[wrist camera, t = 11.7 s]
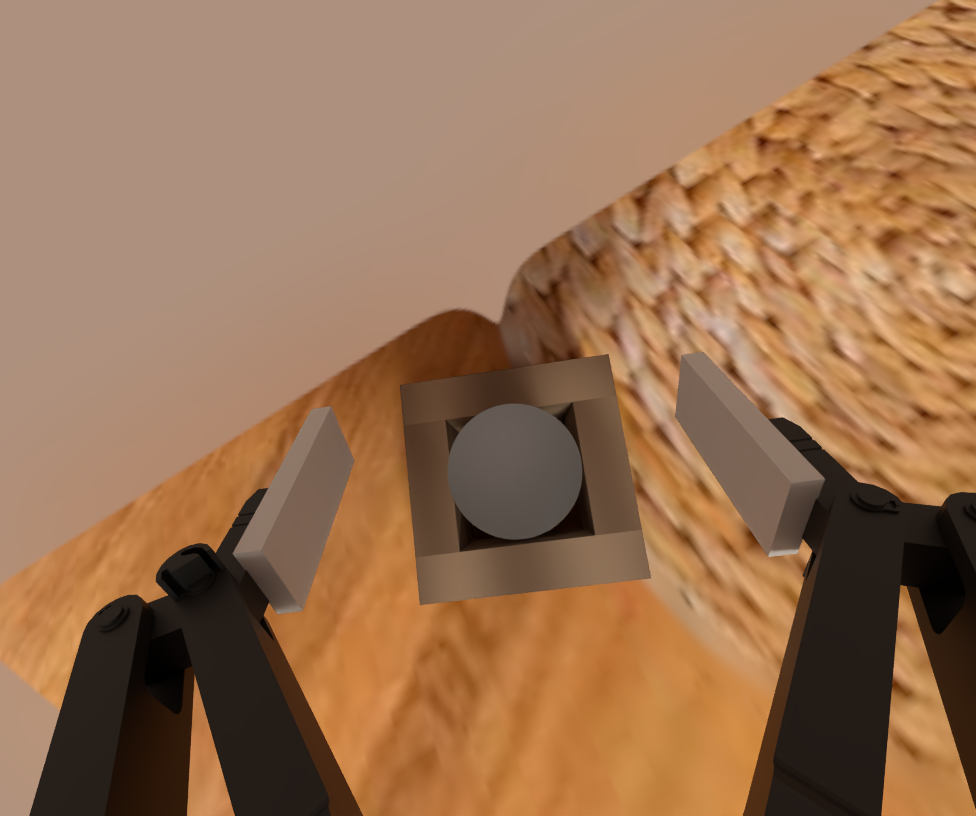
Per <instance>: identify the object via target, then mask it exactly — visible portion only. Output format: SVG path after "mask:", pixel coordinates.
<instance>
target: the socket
mask: <svg viewBox="0 0 976 816" xmlns="http://www.w3.org/2000/svg"><path fill="white" fill-rule="evenodd" d="M400 391H401V402H402V413H403V424H404V435H405V446H406V457H407V468H408V479H409V490H410V501H411V512H412V524H413V535H414V546H415V557H416V568H417V579H418V590H419V601H420V605H424V604H433V603H442V602H450V601H459V600H467V599H476V598H485V597H493V596H502V595H511V594H519V593H528V592H537V591H545V590H554V589H563V588H571V587H580V586H589V585H597V584H606V583H615V582H623V581H632V580H641V579H649V578H651V575H650V570H649V565H648V560H647V554H646V549H645V544H644V538H643V533H642V528H641V523H640V517H639V512H638V507H637V502H636V496H635V491H634V486H633V480H632V475H631V470H630V465H629V459H628V454H627V449H626V444H625V438H624V433H623V428H622V422H621V417H620V412H619V407H618V401H617V396H616V391H615V386H614V380H613V375H612V370H611V365H610V359H609V354H606V355H600V356H593V357H586V358H579V359H573V360H566V361H559V362H552V363H546V364H539V365H532V366H525V367H518V368H512V369H505V370H498V371H491V372H485V373H478V374H471V375H464V376H458V377H451V378H444V379H437V380H430V381H424V382H417V383H410V384H403V385H400ZM504 404H525V405H531V406H534V407H537V408H540V409H542V410H544V411H546V412H548V413H549V414H551V415H553V416H554V417H555V418H557V419H558V420H562V419H564V422H565V427H566V428H567V429H568V431H569V432H570V434H571V435H572V437H573V438H574V440H575V442H576V444H577V447H578V449H579V452H580V456H581V461H582V483H581V488H580V491H579V495H578V497H577V501H578V507H579V513H580V520H581V526H582V527H574V528H566V529H558V530H550V531H547V532H545V533H543V534H541V535H538V536H535V537H532V538H527V539H516V540H514V539H504V538H499V537H493V538H485V539H477V540H473V533H472V524H471V522H470V521H469V520H468V519H466V517H465V516H464V515H463V514H462V513H461V511H460V510H459V508H458V507H457V505H456V503H455V501H454V499H453V497H452V494H451V491H450V488H449V482H448V471H447V469H448V460H449V455H450V451H451V448H452V445H453V443H454V441H455V439H456V437H457V436H458V434H459V433H460V431H461V430H462V428H463V427H464V426H465V425H466V424H467V423H468V422H469V421H470V420H471V419H472V418H474V417H475V416H477V415H478V414H480V413H481V412H483V411H485V410H487V409H489V408H492V407H495V406H499V405H504Z"/></svg>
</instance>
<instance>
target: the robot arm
mask: <svg viewBox="0 0 976 816" xmlns="http://www.w3.org/2000/svg"><path fill="white" fill-rule="evenodd" d="M675 417H676V419H677V420H678V422H679V423H680V425H681V426H682V428H683V429H684V431H685V432H686V434H687V435H688V437H689V438H690V440H691V441H692V443H693V444H694V446H695V447H696V449H697V450H698V452H699V453H700V455H701V456H702V458H703V459H704V461H705V462H706V464H707V465H708V467H709V468H710V470H711V471H712V473H713V474H714V476H715V477H716V479H717V480H718V482H719V483H720V485H721V486H722V488H723V489H724V491H725V492H726V494H727V495H728V497H729V499H730V500H731V502H732V503H733V505H734V506H735V508H736V509H737V511H738V512H739V514H740V515H741V517H742V518H743V520H744V521H745V523H746V524H747V526H748V527H749V529H750V530H751V532H752V533H753V535H754V536H755V538H756V539H757V541H758V542H759V544H760V545H761V547H762V548H763V550H764V551H765V553H766V554H767V556H768V557H771V556H780V555H788V554H797V553H798V550H799V548H800V545H801V542H802V540H803V539H804V541H805V542H806V543H807V544H808V546H809V547H810V548H811V550H812V553H811V556H810V558H809V561H808V563H807V566H806V568H805V571H804V573H803V577H805V578H804V582H803V586H802V590H801V593H800V597H799V601H798V605H797V609H796V613H795V617H794V621H793V624H792V628H791V632H790V636H789V640H788V644H787V648H786V652H785V655H784V659H783V663H782V667H781V671H780V675H779V679H778V683H777V687H776V690H775V694H774V698H773V702H772V706H771V710H770V714H769V718H768V721H767V725H766V729H765V733H764V737H763V741H762V745H761V749H760V753H759V756H758V760H757V764H756V768H755V772H754V776H753V780H752V784H751V787H750V791H749V795H748V799H747V803H746V807H745V810H744V813H743V816H881V812H882V800H883V788H884V776H885V764H886V752H887V740H888V728H889V716H890V704H891V691H892V679H893V667H894V655H895V643H896V631H897V619H898V607H899V595H900V585H904V586H907V589H908V592H909V595H910V598H911V601H912V605H913V608H914V611H915V614H916V618H917V621H918V624H919V627H920V631H921V634H922V637H923V640H924V644H925V647H926V650H927V653H928V656H929V660H930V663H931V666H932V669H933V673H934V676H935V679H936V682H937V686H938V689H939V692H940V695H941V698H942V702H943V705H944V708H945V711H946V715H947V718H948V721H949V724H950V728H951V731H952V734H953V737H954V741H955V744H956V747H957V750H958V753H959V757H960V760H961V763H962V766H963V770H964V773H965V776H966V779H967V783H968V786H969V789H970V792H971V795H972V799H973V802H974V805H975V808H976V493H967V492H959V493H955V494H951V495H950V496H949V497H948V498H947V499H946V500H945V501H944V503H943V505H942V506H931V505H922V504H912V503H904V502H901V501H900V500H899V498H898V497H897V496H895V495H893V494H892V493H890V492H889V491H887V490H885V489H883V488H880V487H877V486H875V485H871V484H866V483H860V482H858V481H856V480H855V479H854V478H853V477H852V476H851V475H850V474H849V473H848V472H847V471H846V470H845V469H844V468H843V467H842V466H841V465H840V464H839V463H838V462H837V461H836V460H835V459H834V458H833V457H831V456H830V455H829V454H828V453H827V452H826V451H825V450H822V447H821V446H820V445H819V444H818V443H817V442H816V441H815V440H812V437H811V436H810V435H809V434H808V433H807V432H805V431H804V430H803V429H802V428H801V427H800V426H798V425H796V424H795V423H793V422H791V421H789V420H787V419H785V418H783V417H782V418H775V419H767V418H766V417H765V416H764V415H763V414H762V413H761V412H760V411H759V410H758V409H757V408H756V406H755V405H754V404H753V403H752V402H751V401H750V400H749V399H748V398H747V397H746V396H745V395H744V394H743V393H742V392H741V391H740V390H739V389H738V388H737V387H736V386H735V385H734V384H733V383H732V381H731V380H730V379H729V378H728V377H727V376H726V375H725V374H724V373H723V372H722V371H721V370H720V369H719V368H718V367H717V366H716V365H715V364H714V363H713V362H712V361H711V360H710V359H709V358H708V356H707V355H706V354H705V353H704V352H699V353H692V354H686V355H682V356H681V366H680V375H679V385H678V395H677V404H676V414H675ZM353 463H354V459H353V457H352V454H351V452H350V449H349V447H348V445H347V442H346V440H345V438H344V435H343V433H342V431H341V428H340V426H339V424H338V421H337V419H336V416H335V414H334V412H333V409H332V407H331V406H329V407H323V408H316V409H312V410H311V411H310V413H309V415H308V417H307V419H306V421H305V422H304V424H303V426H302V428H301V430H300V431H299V433H298V435H297V437H296V439H295V441H294V442H293V444H292V446H291V448H290V450H289V452H288V453H287V455H286V457H285V459H284V461H283V463H282V464H281V466H280V468H279V470H278V472H277V474H276V475H275V477H274V479H273V481H272V483H271V484H270V486H269V488H265V489H258V490H257V491H256V492H255V493H254V494H253V495H252V496H251V497H250V498H249V499H248V500H247V501H246V502H245V504H244V506H243V507H242V509H241V511H240V512H239V514H238V517H237V518H236V519H235V521H234V523H233V524H232V528H230V529H229V531H228V533H227V535H226V536H225V538H224V540H223V541H222V543H221V545H220V546H219V548H218V550H217V552H216V553H215V552H214V551H213V550H212V548H211V547H209V546H208V545H207V544H202V543H199V544H194V545H190V546H187V547H185V548H183V549H181V550H179V551H178V552H176V553H175V554H173V555H172V556H171V557H169V558H168V559H167V560H166V561H165V562H164V563H163V564H162V565H161V567H160V569H159V571H158V572H157V574H156V582H157V583H158V585H159V586H160V587H161V588H162V589H163V590H164V591H165V592H166V593H167V594H168V596H165V597H163V598H160V599H157V600H155V601H152V602H150V603H146V602H145V601H144V600H143V599H142V598H141V597H139V596H138V595H127V596H124V597H121V598H118V599H116V600H114V601H113V602H111V603H109V604H107V605H106V606H105V607H103V608H102V609H101V610H100V611H98V612H97V613H96V614H95V615H94V617H93V618H92V619H91V620H90V621H89V622H88V624H87V626H86V628H85V630H84V632H83V635H82V638H81V642H80V645H79V649H78V652H77V655H76V659H75V662H74V666H73V669H72V672H71V676H70V679H69V683H68V686H67V690H66V693H65V696H64V700H63V703H62V707H61V710H60V713H59V717H58V720H57V724H56V727H55V730H54V734H53V737H52V741H51V744H50V748H49V751H48V754H47V758H46V761H45V764H44V768H43V771H42V775H41V778H40V782H39V785H38V788H37V792H36V795H35V798H34V802H33V805H32V809H31V812H30V816H187V803H188V784H189V766H190V747H191V729H192V710H193V692H194V673H195V677H196V680H197V684H198V687H199V691H200V694H201V698H202V701H203V705H204V709H205V712H206V716H207V719H208V723H209V726H210V730H211V733H212V737H213V740H214V744H215V747H216V751H217V754H218V758H219V761H220V765H221V768H222V772H223V775H224V779H225V783H226V786H227V790H228V793H229V797H230V800H231V804H232V807H233V811H234V814H235V816H363V815H362V813H361V810H360V808H359V806H358V804H357V802H356V800H355V798H354V796H353V794H352V792H351V790H350V788H349V786H348V784H347V782H346V780H345V778H344V776H343V774H342V772H341V770H340V767H339V765H338V763H337V761H336V759H335V757H334V755H333V753H332V751H331V749H330V747H329V745H328V743H327V741H326V739H325V737H324V735H323V733H322V731H321V729H320V727H319V725H318V722H317V720H316V718H315V716H314V714H313V712H312V710H311V708H310V706H309V704H308V702H307V700H306V698H305V696H304V694H303V692H302V690H301V688H300V686H299V684H298V682H297V679H296V677H295V675H294V673H293V671H292V669H291V667H290V665H289V663H288V661H287V659H286V657H285V655H284V653H283V651H282V649H281V647H280V645H279V643H278V641H277V639H276V637H275V634H274V632H273V630H272V628H271V626H270V624H269V622H268V621H267V619H266V618H265V617H264V613H265V610H266V608H267V606H268V603H270V605H271V606H272V607H273V609H274V610H275V611H276V613H277V614H281V613H290V612H299V611H303V609H304V606H305V603H306V600H307V597H308V594H309V591H310V588H311V586H312V583H313V580H314V577H315V574H316V571H317V568H318V565H319V562H320V559H321V556H322V553H323V551H324V548H325V545H326V542H327V539H328V536H329V533H330V530H331V527H332V524H333V521H334V519H335V516H336V513H337V510H338V507H339V504H340V501H341V498H342V495H343V492H344V489H345V487H346V484H347V481H348V478H349V475H350V472H351V469H352V466H353Z"/></svg>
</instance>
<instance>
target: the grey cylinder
mask: <svg viewBox="0 0 976 816" xmlns="http://www.w3.org/2000/svg"><path fill="white" fill-rule="evenodd" d="M447 471H448V482H449V488H450V491H451V494H452V497H453V499H454V501H455V503H456V505H457V507H458V508H459V510H460V511H461V513H462V514H463V515H464V516H465V517H466V519H468V520H469V521H470V522H471V523H472V524H473V525H474V526H476V527H477V528H479V529H480V530H482V531H484V532H486V533H488V534H490V535H493V536H496V537H499V538H504V539H514V540H516V539H527V538H532V537H535V536H538V535H541V534H543V533H545V532H547V531H549V530H551V529H552V528H553V527H555V526H556V525H558V524H559V523H560V522H561V521H562V520H563V519H564V518H565V517H566V516H567V514H568V513H569V512H570V510H571V509H572V507H573V506H574V504H575V502H576V500H577V497H578V495H579V491H580V488H581V483H582V461H581V456H580V452H579V449H578V447H577V444H576V442H575V440H574V438H573V437H572V435H571V434H570V432H569V431H568V429H567V428H566V427H565V426H564V425H563V424H562V423H561V422H560V421H559V420H558V419H557V418H555V417H554V416H553V415H551V414H549V413H548V412H546V411H544V410H542V409H540V408H537V407H534V406H531V405H525V404H504V405H499V406H495V407H492V408H489V409H487V410H485V411H483V412H481V413H480V414H478V415H477V416H475V417H474V418H472V419H471V420H470V421H469V422H468V423H467V424H466V425H465V426H464V427H463V428H462V430H461V431H460V433H459V434H458V436H457V437H456V439H455V441H454V443H453V445H452V448H451V451H450V455H449V460H448V469H447Z"/></svg>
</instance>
